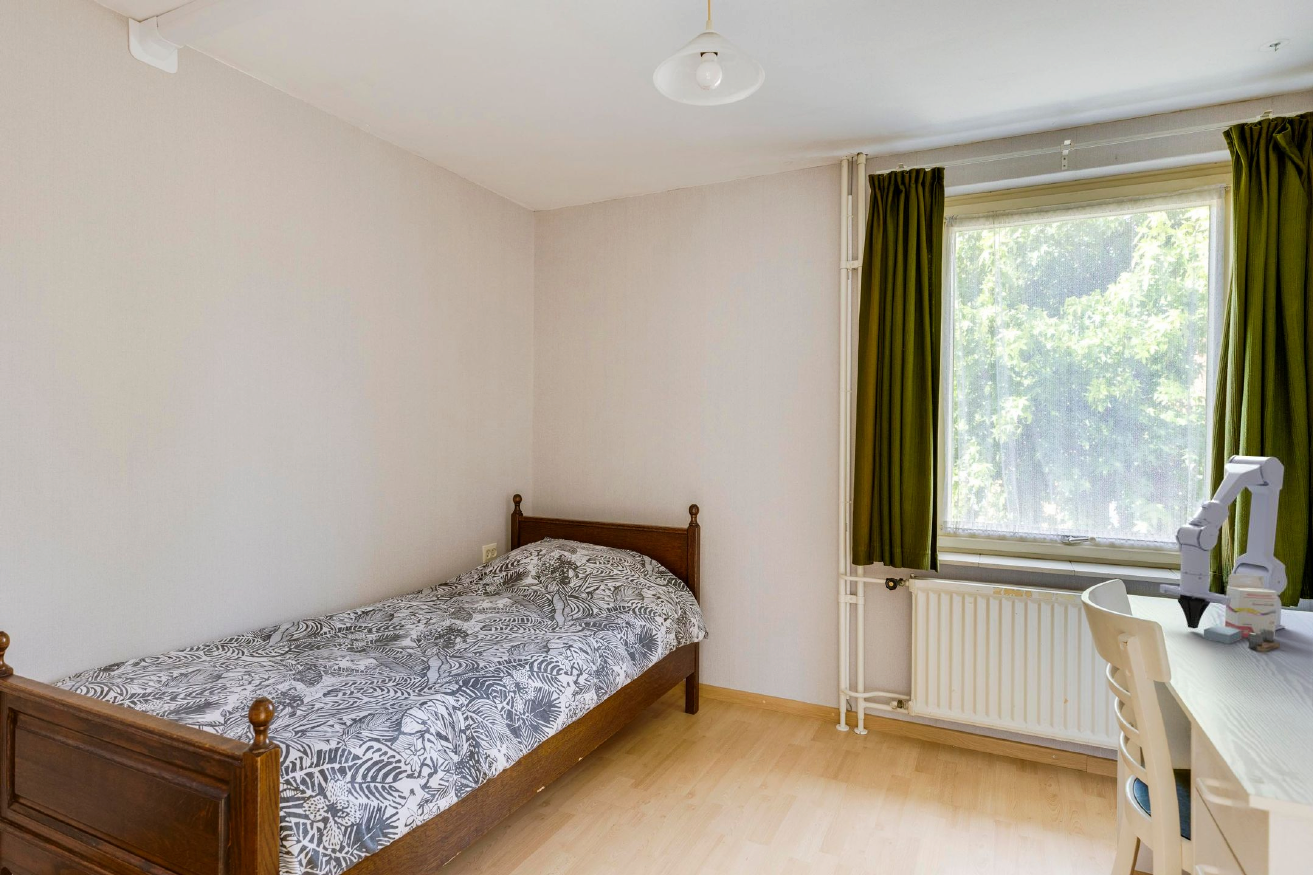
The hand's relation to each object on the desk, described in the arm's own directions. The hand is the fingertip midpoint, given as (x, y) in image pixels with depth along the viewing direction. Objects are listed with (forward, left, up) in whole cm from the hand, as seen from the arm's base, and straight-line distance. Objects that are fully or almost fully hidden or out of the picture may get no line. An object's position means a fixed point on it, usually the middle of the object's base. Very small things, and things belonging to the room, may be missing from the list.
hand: (1192, 627), depth 177 cm
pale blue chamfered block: (0, +6, -1) cm, 6 cm away
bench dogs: (0, +14, -1) cm, 14 cm away
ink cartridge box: (-9, +8, -1) cm, 12 cm away
